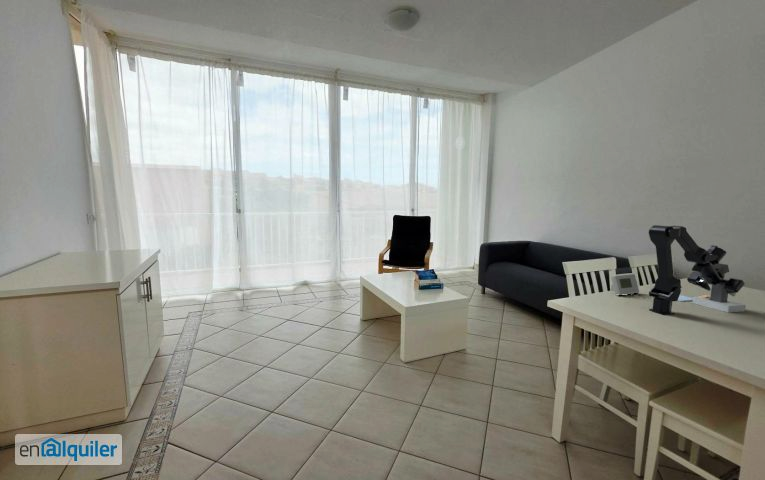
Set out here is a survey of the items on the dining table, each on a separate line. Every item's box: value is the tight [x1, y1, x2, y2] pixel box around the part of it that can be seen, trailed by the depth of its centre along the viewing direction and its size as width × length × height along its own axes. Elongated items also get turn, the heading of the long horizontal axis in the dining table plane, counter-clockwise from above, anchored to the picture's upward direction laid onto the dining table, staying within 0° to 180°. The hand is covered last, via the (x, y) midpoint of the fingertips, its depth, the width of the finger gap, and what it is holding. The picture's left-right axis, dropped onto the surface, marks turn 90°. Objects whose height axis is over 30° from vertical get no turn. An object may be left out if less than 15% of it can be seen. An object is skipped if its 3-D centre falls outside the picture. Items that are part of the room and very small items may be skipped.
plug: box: [710, 277, 729, 303], centre depth 150 cm, size 4×4×14 cm
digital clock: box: [610, 272, 640, 295], centre depth 171 cm, size 16×9×11 cm, turn 97°
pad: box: [662, 294, 693, 303], centre depth 164 cm, size 10×10×1 cm
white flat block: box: [691, 294, 747, 313], centre depth 151 cm, size 10×14×4 cm
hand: (721, 292), depth 151 cm, fingers open, 9 cm apart
